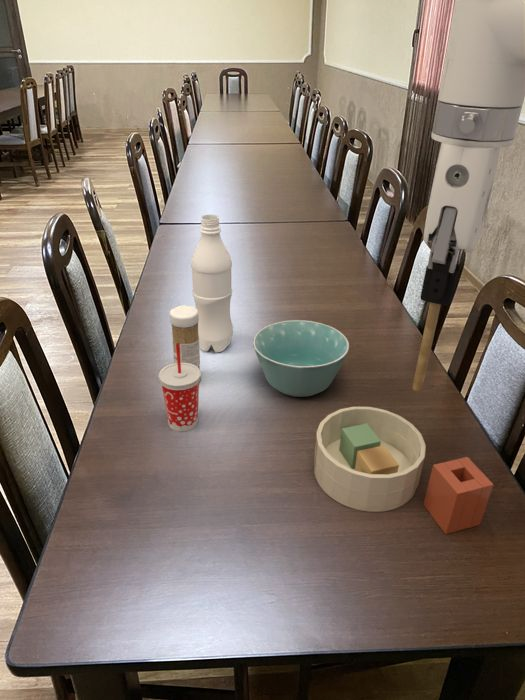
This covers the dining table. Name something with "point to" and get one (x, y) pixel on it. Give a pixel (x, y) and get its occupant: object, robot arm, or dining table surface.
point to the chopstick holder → (457, 494)
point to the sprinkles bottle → (186, 334)
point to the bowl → (300, 356)
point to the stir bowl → (365, 487)
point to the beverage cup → (181, 393)
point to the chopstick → (426, 345)
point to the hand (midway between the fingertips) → (436, 298)
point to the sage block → (357, 442)
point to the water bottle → (212, 287)
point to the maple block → (376, 461)
